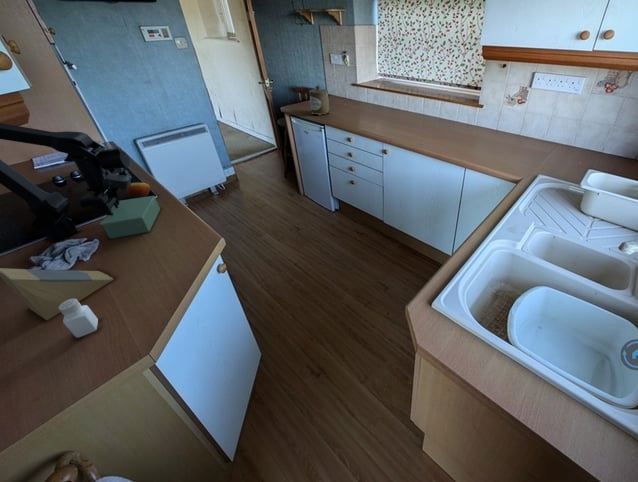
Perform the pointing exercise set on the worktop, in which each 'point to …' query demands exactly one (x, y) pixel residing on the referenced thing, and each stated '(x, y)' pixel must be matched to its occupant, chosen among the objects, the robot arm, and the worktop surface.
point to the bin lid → (127, 210)
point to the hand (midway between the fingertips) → (113, 209)
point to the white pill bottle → (78, 318)
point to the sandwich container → (52, 287)
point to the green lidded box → (134, 223)
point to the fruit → (138, 190)
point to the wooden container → (319, 100)
